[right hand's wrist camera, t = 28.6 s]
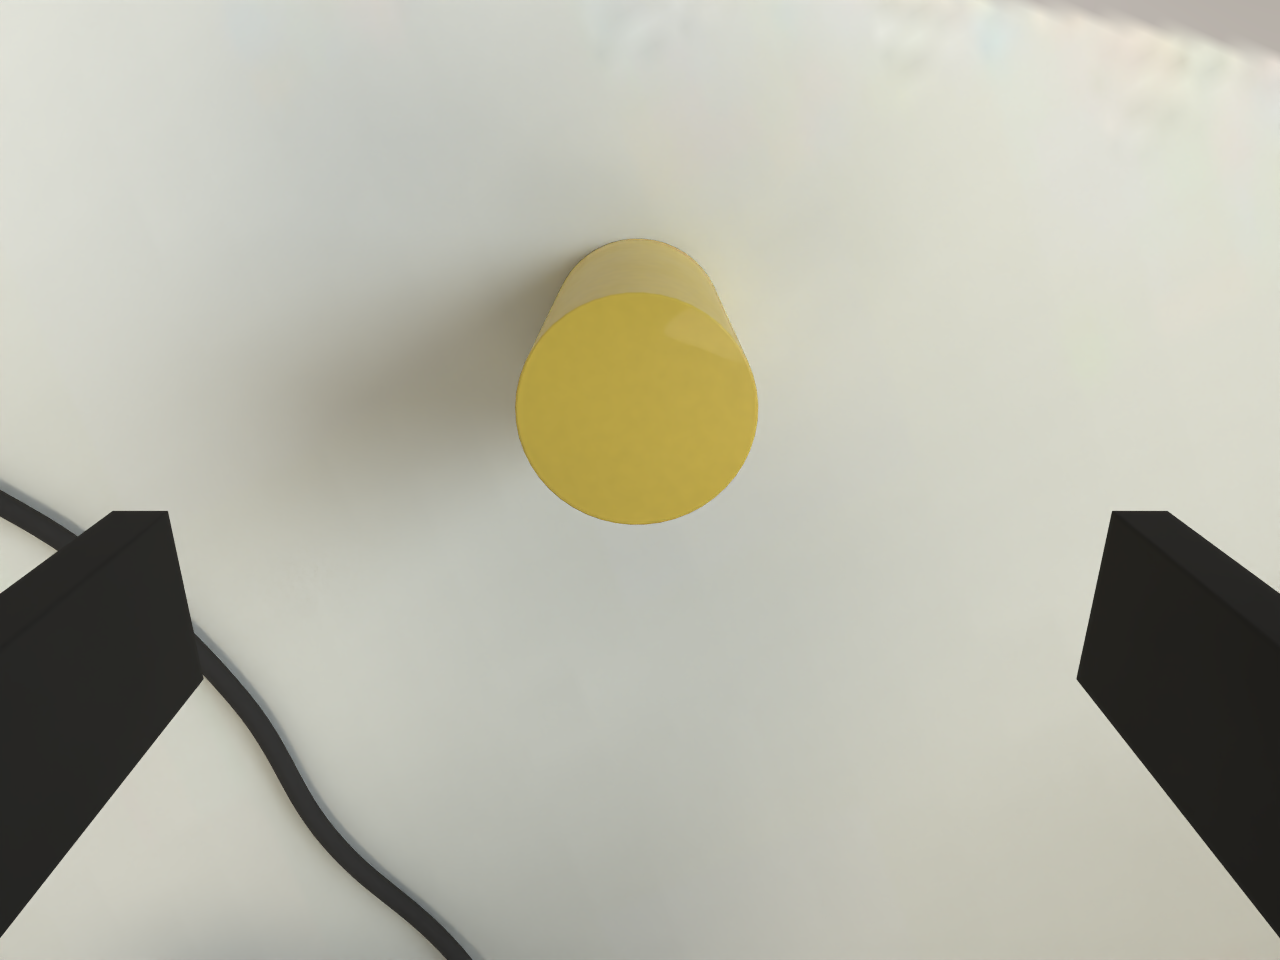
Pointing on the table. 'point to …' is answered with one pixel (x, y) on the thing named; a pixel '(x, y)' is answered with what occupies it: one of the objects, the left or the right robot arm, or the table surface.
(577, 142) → the table surface
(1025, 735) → the table surface
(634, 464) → the cylinder
